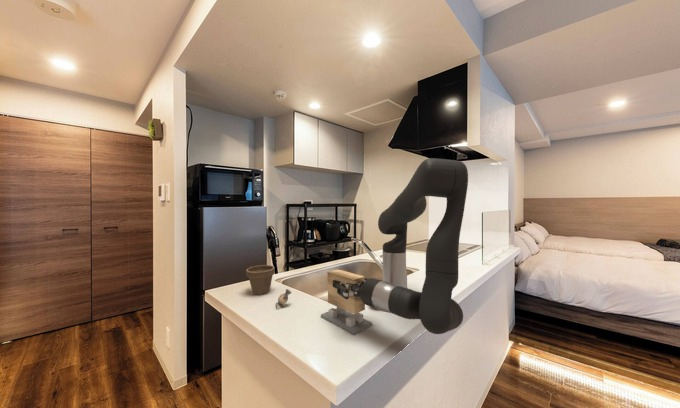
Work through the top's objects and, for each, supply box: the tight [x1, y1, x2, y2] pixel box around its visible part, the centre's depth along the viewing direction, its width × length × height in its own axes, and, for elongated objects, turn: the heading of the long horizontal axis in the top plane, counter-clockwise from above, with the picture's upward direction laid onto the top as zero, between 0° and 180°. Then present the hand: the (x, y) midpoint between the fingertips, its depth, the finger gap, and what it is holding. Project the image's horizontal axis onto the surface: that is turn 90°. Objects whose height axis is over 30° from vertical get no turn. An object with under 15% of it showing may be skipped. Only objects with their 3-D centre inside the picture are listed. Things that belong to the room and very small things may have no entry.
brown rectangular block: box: [326, 269, 366, 314], centre depth 79 cm, size 4×12×10 cm, turn 43°
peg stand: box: [320, 306, 373, 335], centre depth 79 cm, size 8×15×3 cm, turn 43°
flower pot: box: [245, 264, 276, 296], centre depth 104 cm, size 12×11×10 cm
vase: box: [275, 288, 292, 310], centre depth 90 cm, size 5×5×6 cm
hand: (339, 281), depth 80 cm, fingers closed on brown rectangular block, 4 cm apart
